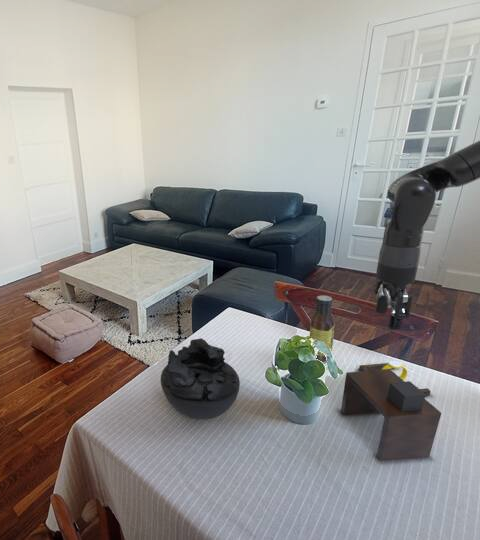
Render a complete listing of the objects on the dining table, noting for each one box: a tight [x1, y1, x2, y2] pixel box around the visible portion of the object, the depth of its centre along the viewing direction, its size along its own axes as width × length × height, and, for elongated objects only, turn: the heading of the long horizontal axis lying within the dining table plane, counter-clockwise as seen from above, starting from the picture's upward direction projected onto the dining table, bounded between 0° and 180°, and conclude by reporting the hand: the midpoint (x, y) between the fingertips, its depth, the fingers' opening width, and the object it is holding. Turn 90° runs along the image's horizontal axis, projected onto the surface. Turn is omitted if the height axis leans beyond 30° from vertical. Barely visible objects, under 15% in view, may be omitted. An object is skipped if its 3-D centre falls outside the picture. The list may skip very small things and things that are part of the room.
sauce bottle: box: [309, 294, 336, 361], centre depth 102 cm, size 7×6×20 cm
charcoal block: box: [387, 380, 426, 412], centre depth 69 cm, size 4×4×4 cm
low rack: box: [358, 362, 432, 397], centre depth 91 cm, size 10×12×2 cm
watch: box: [382, 360, 408, 381], centre depth 91 cm, size 6×3×6 cm, turn 87°
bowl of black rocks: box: [160, 337, 241, 420], centre depth 87 cm, size 20×20×19 cm
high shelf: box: [340, 369, 442, 462], centre depth 75 cm, size 10×14×12 cm
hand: (387, 320), depth 87 cm, fingers open, 8 cm apart
